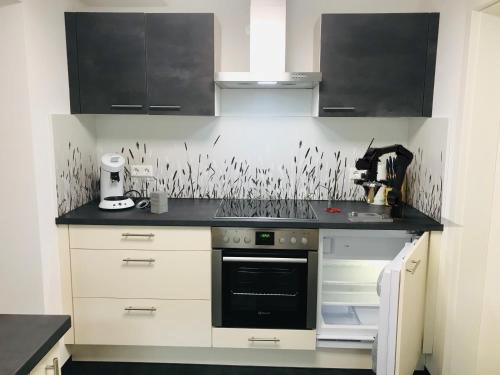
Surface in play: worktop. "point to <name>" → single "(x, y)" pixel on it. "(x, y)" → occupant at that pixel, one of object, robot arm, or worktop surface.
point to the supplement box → (159, 202)
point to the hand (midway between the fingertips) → (370, 197)
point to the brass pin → (370, 194)
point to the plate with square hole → (368, 217)
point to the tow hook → (330, 205)
